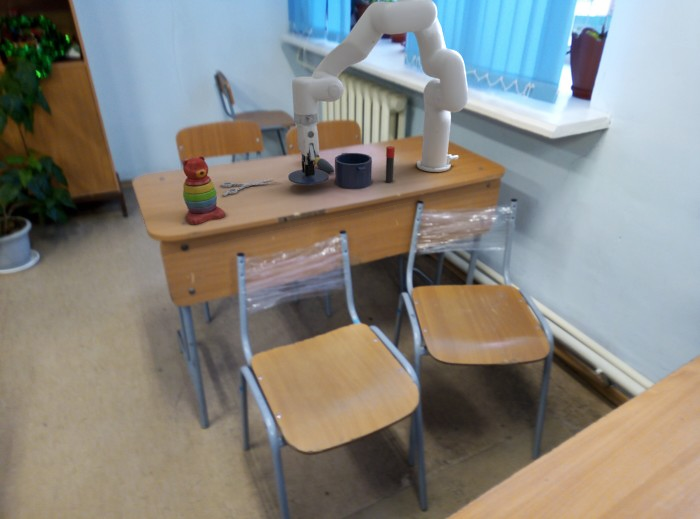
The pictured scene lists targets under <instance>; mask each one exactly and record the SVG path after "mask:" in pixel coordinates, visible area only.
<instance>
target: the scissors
mask: <svg viewBox="0 0 700 519" xmlns="http://www.w3.org/2000/svg"><path fill="white" fill-rule="evenodd" d="M270 180H272V178H269V179H265V180H261V181H260V180H259V181H255V182H245V183H239V182H235V183H234V182H231V181H223V182H222V183H221V187H223V188H229V189H227V190H226V192H224V193H222V197H225V196H227V195H233V194H236V193H237V192H238V191H240V190H243V189H244V188H248V187H252V186H257V185H269V182H268V181H270ZM275 183H277V182H276V181H274V182H270V184H275ZM232 186H233V188H230V187H232ZM235 186H239V187H236V188H234V187H235Z"/></svg>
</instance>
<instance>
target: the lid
mask: <svg viewBox="0 0 700 519" xmlns="http://www.w3.org/2000/svg"><path fill="white" fill-rule="evenodd" d="M305 164H306V163H305V161H304V172H305ZM329 177H330V175H329V172H326V171H324V170H322V169H319V168H318V169H317V168H315V175H313V176H305V173H303V172H302V169H298V170H294V171H291V172H290V173H289V174H288V177H287V179H288V181H290V182H291V183H293V184H297V185H303V186H309V185H318V184H322V183H324V182H326V181H328V180H329Z"/></svg>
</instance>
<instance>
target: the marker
mask: <svg viewBox="0 0 700 519" xmlns="http://www.w3.org/2000/svg"><path fill="white" fill-rule="evenodd" d="M385 148H386V150H385V159H386V160H385V183H388V184H391V183H393V182H394V170H395V169H394V168H395V167H394V165H395V152H396V150H395V146H392V145H389V146H386V147H385Z"/></svg>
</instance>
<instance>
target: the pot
mask: <svg viewBox="0 0 700 519" xmlns="http://www.w3.org/2000/svg"><path fill="white" fill-rule="evenodd" d="M372 163H373V159H372V157H371V156H370V155H368V154H365V153H362V152H361V153H360V152H341V154H338V155H336V156H335V157H334V183H335V185H336V186H338V187H340V188H343V189H349V190H351V189H352V190H353V189H354V190H356V189H363V188H367V187H369V186H370V185H371V184H372V174H373V173H372V170H373V169H372V167H373V166H372V165H373V164H372Z"/></svg>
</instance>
